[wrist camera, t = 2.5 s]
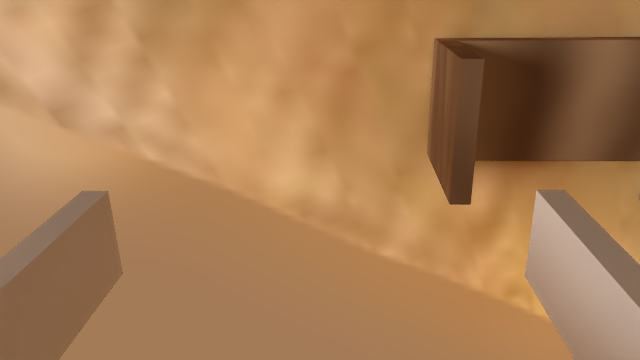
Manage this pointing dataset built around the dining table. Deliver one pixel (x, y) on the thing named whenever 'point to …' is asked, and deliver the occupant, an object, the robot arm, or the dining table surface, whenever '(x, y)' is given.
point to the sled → (531, 103)
